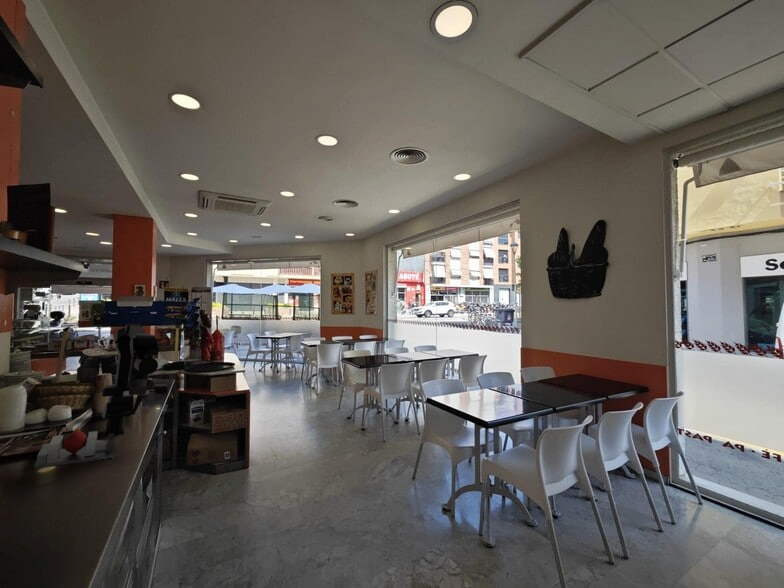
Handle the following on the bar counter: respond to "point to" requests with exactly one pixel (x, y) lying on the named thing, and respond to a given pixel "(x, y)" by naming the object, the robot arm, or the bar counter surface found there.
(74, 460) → the vise base
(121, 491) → the bar counter surface
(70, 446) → the onion
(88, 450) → the sliding jaw
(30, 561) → the bar counter surface
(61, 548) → the bar counter surface
